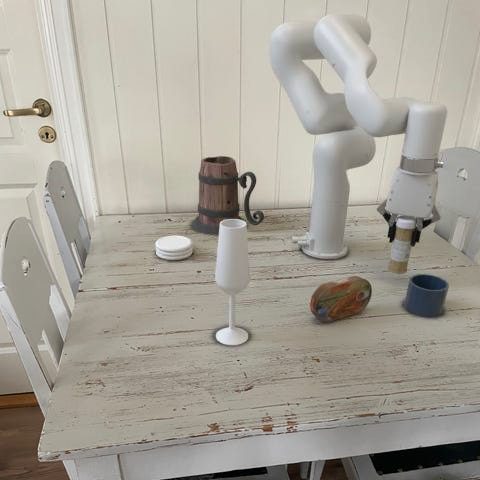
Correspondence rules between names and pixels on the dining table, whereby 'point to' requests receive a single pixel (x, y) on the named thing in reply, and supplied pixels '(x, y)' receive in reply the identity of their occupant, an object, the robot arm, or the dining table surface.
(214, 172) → the tankard
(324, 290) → the tin
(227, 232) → the champagne flute
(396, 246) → the sprinkles bottle
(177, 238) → the white round stack
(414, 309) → the cup
